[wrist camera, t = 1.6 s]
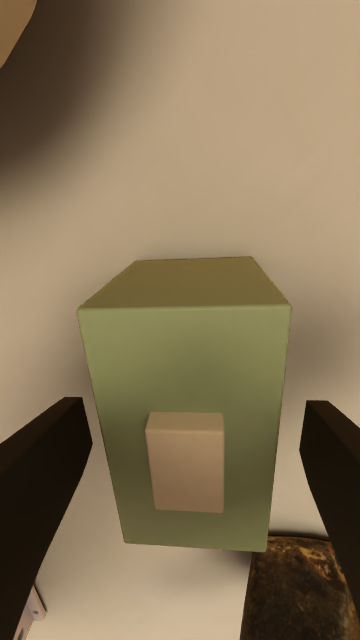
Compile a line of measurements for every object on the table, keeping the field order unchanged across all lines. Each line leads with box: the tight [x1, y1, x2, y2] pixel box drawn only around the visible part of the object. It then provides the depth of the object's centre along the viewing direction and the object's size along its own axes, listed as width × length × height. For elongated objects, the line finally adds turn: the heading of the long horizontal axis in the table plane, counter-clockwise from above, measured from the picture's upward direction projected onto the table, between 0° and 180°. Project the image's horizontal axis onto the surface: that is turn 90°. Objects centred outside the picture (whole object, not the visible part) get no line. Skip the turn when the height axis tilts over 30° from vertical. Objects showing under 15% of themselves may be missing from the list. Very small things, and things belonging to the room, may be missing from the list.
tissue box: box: [77, 257, 292, 552], centre depth 11 cm, size 9×5×7 cm, turn 3°
